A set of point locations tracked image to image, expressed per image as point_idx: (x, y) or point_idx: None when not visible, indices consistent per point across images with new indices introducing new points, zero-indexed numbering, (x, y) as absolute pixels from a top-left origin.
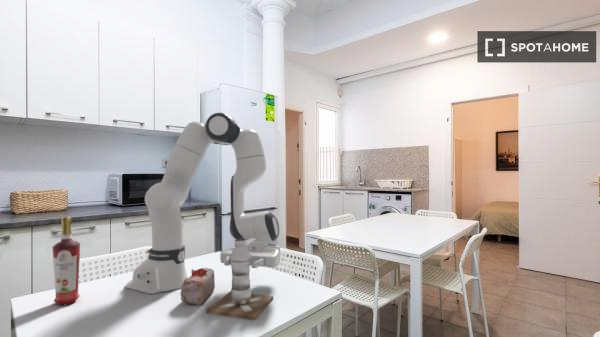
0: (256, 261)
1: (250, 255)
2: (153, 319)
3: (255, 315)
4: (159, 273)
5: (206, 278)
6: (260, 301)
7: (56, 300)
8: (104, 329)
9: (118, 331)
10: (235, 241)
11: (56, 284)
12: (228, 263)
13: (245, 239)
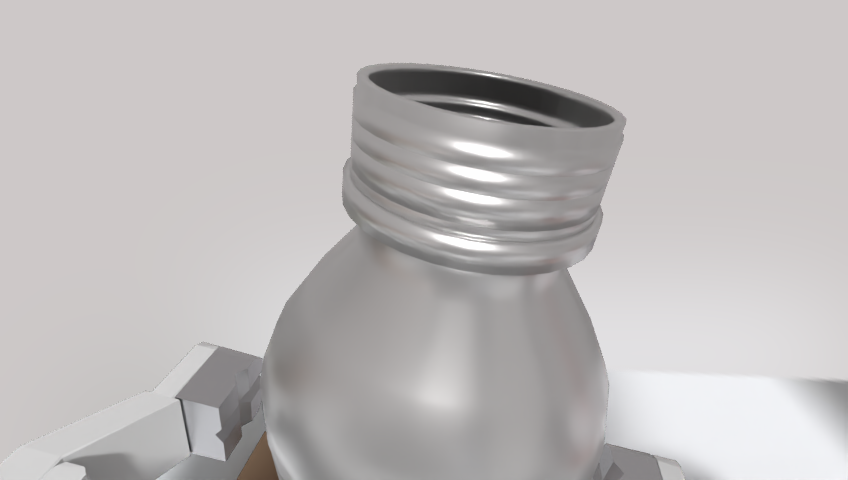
0: (178, 383)
1: (268, 346)
2: (759, 457)
3: (259, 440)
4: None
5: None
6: None
7: None
8: (829, 390)
9: (767, 377)
10: (554, 99)
11: None
12: (597, 469)
13: (388, 92)
